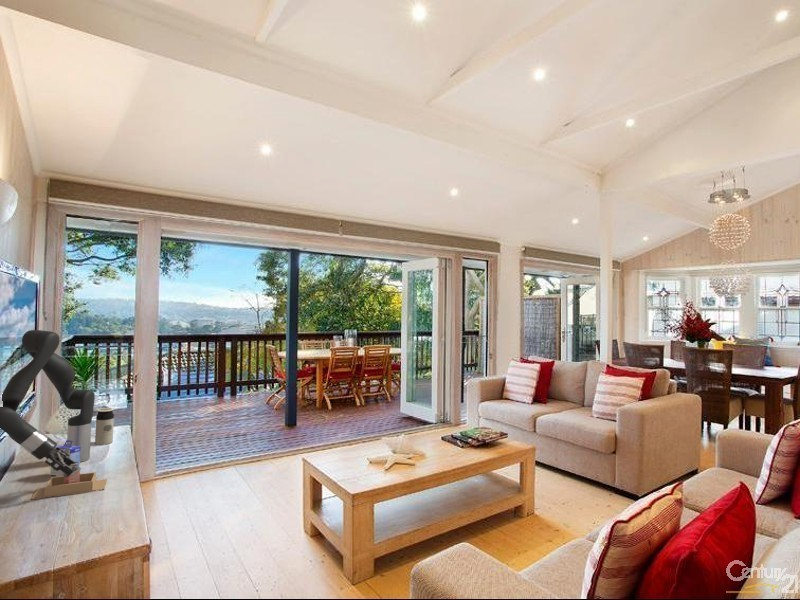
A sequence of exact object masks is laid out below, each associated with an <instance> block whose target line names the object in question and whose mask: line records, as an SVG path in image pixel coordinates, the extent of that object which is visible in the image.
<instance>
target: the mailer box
mask: <svg viewBox="0 0 800 600" xmlns="http://www.w3.org/2000/svg"><path fill="white" fill-rule="evenodd" d="M96 479H97V480H96ZM107 481H108V479H107V478H106V479H105V478H104V479H99V480H98V477H97V472H96V471H93V472H92V471H91V472H84V473H80V480H79V483H72V484H64V476H52V477H50V478H49V480H48V482H47V483H46V485H45V486H43V487H38V488H37V489H36V490H35V492H34V494H33V496H32V497H31V498H30V499H31V500H37V499H38V500H39V499H46V498H45V497H48V498H52V497H51V496H55V497H61V496H60V495H63V496H68V495H76V494H83V493H90V491H92V492H97V491H96V490H99V491H102V490H101V489H104V488H105V489H106V486H107ZM105 485H106V486H105ZM105 489H104V490H105ZM58 495H59V496H58Z"/></svg>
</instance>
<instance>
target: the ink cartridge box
mask: <svg viewBox="0 0 800 600" xmlns="http://www.w3.org/2000/svg"><path fill="white" fill-rule="evenodd" d="M67 442H70V443H71V444H67ZM72 443H73V441H71V440H67V439H66V440H65V442H64V443H63V444H60V445H57V446H56V447H55V448H57V447H59V448H60V449H62V450H63V451H64V452H66V453H67V454H69V455H70V456H69V457H70V459H71V460H73V461H74V462H75V463H78V467H80V463H81V462H80V449H81V446H72ZM55 448H54V449H55ZM65 463H66V462H65ZM65 465H66V464H65ZM67 466H68V465H67ZM63 474H64V472H62V471H61V470H60V471H59V470H58V471H56V470H55V469H54V468H52V467H51V466H50V472H49V476H51V475H56V476H55V477H59V476H63Z"/></svg>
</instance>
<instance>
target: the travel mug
mask: <svg viewBox="0 0 800 600" xmlns="http://www.w3.org/2000/svg"><path fill="white" fill-rule="evenodd" d="M114 410H115V409H114V408H112V407H105V408H104V407H103V408H98V409H97V410H96V411H97V414H96V415H95V416H96V417H95V435H94V437H95V439H94V444H95V445H96V446H97V445H98V446H104V444H105V445H110V444H111V443H113V441H114V425H115V424H114V422H115V414H114Z"/></svg>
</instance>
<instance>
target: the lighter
mask: <svg viewBox="0 0 800 600" xmlns="http://www.w3.org/2000/svg"><path fill="white" fill-rule="evenodd" d="M68 467H69V468H71V469H72V470H73V473H71V474H70V475H69V476H68V475H66V474H65V473H64V474H63V476H64V484H72V483H79V480H80V474H81V469H82V467H80V466H79V467H78V463H75V464H71V465H70V466H68Z"/></svg>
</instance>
